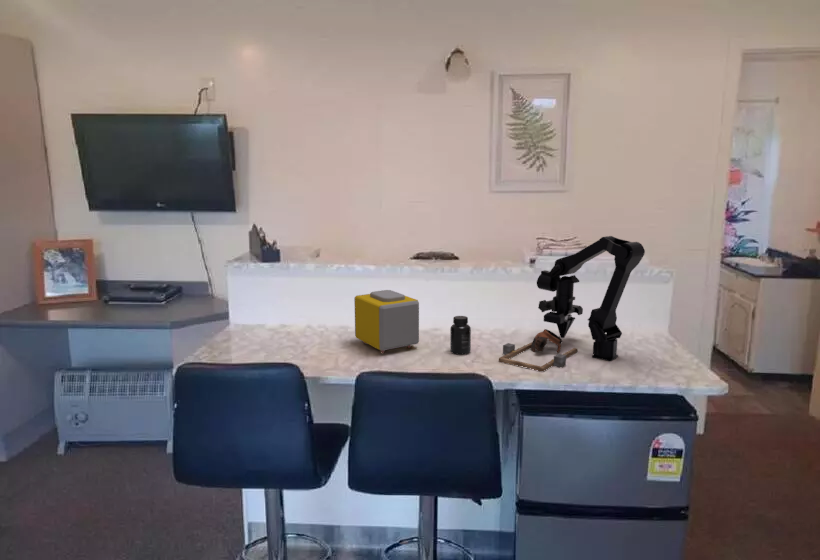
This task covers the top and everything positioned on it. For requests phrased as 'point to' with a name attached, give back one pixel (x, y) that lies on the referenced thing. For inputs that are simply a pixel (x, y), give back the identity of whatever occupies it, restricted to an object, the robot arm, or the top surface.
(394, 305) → the alarm clock
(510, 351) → the wooden u-shaped frame
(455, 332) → the supplement bottle
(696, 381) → the top surface
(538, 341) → the brown broken pot
